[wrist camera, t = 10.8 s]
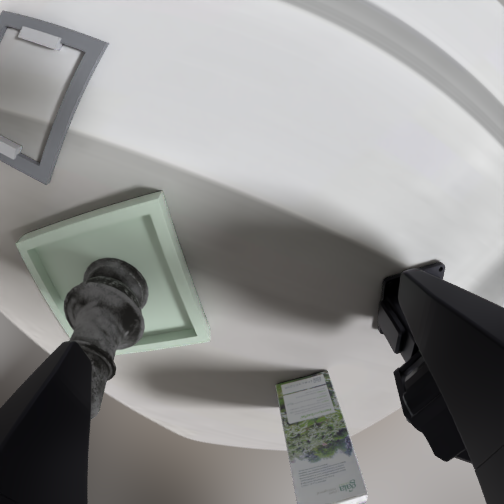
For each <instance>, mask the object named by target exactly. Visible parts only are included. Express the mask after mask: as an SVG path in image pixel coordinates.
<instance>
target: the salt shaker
mask: <svg viewBox="0 0 504 504" xmlns="http://www.w3.org/2000/svg"><path fill="white" fill-rule="evenodd" d="M148 296H149V291H148V285H147V283H146V280H145V278H144V277H143V276H142V274H141V273H140V272H139V271H138V270H137V269H136V268H135V267H134V266H132V265H131V264H129V263H127V262H126V261H123V260H120V259H117V258H102V259H98V260H96V261H94V262H92V263H91V264H90V265H89V266H88V267H87V269H86V271H85V273H84V277H83V282H82V283H80V284H79V285H77V286H75V287H73V288H72V289H71V290H70V291H69V292H68V293H67V295H66V298H65V300H64V313H65V317H66V319H67V321H68V323H69V325H70V326H71V328H72V329H73V330H74V332H73V334H72V336H71V338H70V341H76V342H78V343H79V345H80V346H81V347H82V349H83V350H84V352H85V353H86V354H87V356H88V357H89V358H90V360H91V363H92V387H91V419H92V418H94V417H95V416H96V415H97V414H98V412H99V410H100V406H101V402H102V397H103V393H104V389H105V385H106V381H108V380H110V379H111V378H113V376H114V375H115V372H116V366H115V363H114V361H113V360H114V356H115V353H116V350H123V349H126V348H129V347H132V346H133V345H135V344H136V343H138V342H139V341H140V339H141V338H142V336H143V333H144V329H145V324H144V318H143V315H142V310H141V309H143V307H144V306H145V305H146V303H147V300H148Z"/></svg>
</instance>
